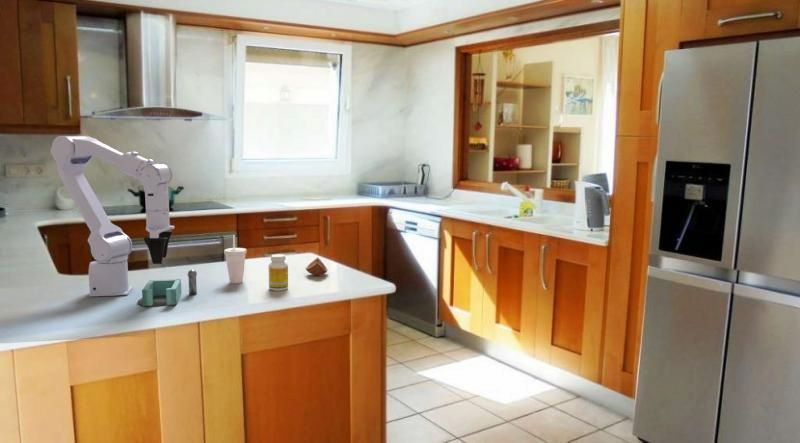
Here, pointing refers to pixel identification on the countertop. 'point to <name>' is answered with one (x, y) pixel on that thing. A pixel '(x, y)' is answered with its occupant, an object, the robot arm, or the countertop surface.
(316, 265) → the brown wedge block
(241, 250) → the smoothie
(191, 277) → the cylinder
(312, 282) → the countertop surface
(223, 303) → the countertop surface
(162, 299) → the coaster
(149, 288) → the c link
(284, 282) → the supplement bottle
